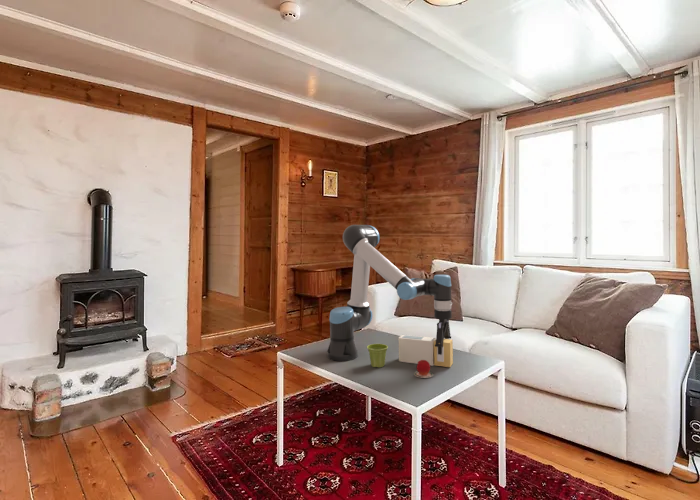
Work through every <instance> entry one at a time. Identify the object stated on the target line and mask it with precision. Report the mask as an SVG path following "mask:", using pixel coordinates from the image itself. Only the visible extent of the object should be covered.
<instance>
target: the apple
mask: <svg viewBox="0 0 700 500" xmlns="http://www.w3.org/2000/svg"><path fill="white" fill-rule="evenodd" d="M413 375H414V376H415V377H417V378H422V379H423V378H424V379H428V378H432V377H433V376H434V373H433V372H431V365H430V364H429V363H428V362H427V361H426V360H421V361H419V362H418V364H417V365H416V371H415V372H413Z"/></svg>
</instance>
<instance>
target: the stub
mask: <svg viewBox="0 0 700 500" xmlns="http://www.w3.org/2000/svg"><path fill="white" fill-rule="evenodd" d="M439 344H440V343H439ZM435 345H436V340H435V341H434V365H433V366H436V367H437V366H439V367H446V368H451V367H452V365H453V364H454V360H453V359H454V355H453V354H454V349H453V346H454V345H453V339H452V338H451V339H450V338H449V339H444V341H443V347H444V362H440V361H437V347H436V346H435Z"/></svg>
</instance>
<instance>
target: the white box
mask: <svg viewBox="0 0 700 500" xmlns="http://www.w3.org/2000/svg"><path fill="white" fill-rule="evenodd" d="M435 340H436V337H432V336H431V337H430V336H420V335H409V334H408V335H407V334H406V335H405V334H402V335H400V336H398V362H401V363H402V362H403V363H410V364H417V365H418V362H419V361H421V360H426V361H427V362H428V363H429V364H430V367H431V366H432V367H433V366H435V365H434V341H435Z"/></svg>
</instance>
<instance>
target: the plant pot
mask: <svg viewBox="0 0 700 500" xmlns="http://www.w3.org/2000/svg"><path fill="white" fill-rule="evenodd" d="M366 348H367V350H368V352H369V360H370V366H371V367H373V368H384V366H385V365H386V355H387V350H388V348H389V346H388V345H387V344H383V343H373V344H372V343H371V344H368V345H367V346H366Z"/></svg>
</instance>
